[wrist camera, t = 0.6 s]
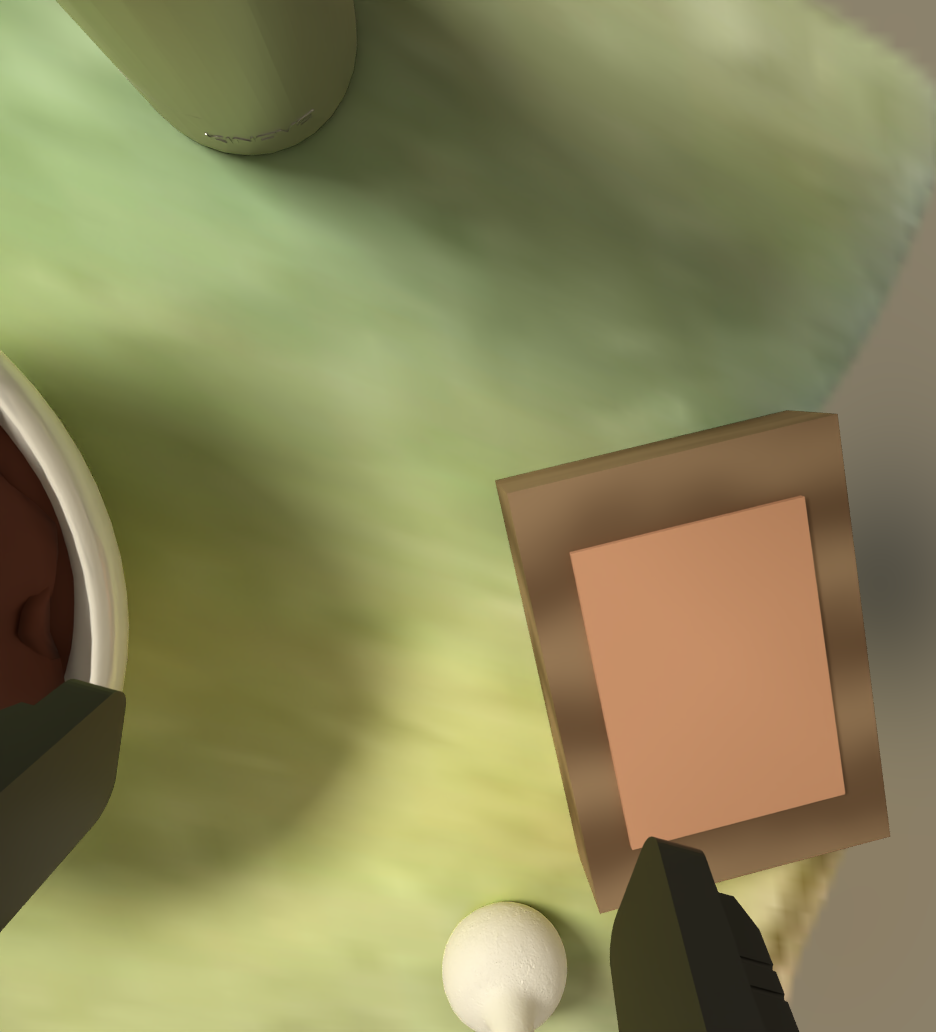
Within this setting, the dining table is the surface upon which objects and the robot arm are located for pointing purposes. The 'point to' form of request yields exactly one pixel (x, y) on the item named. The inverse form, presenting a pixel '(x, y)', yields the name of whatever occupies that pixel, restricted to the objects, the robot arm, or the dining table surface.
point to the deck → (663, 504)
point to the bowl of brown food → (53, 557)
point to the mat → (712, 670)
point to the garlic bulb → (504, 968)
